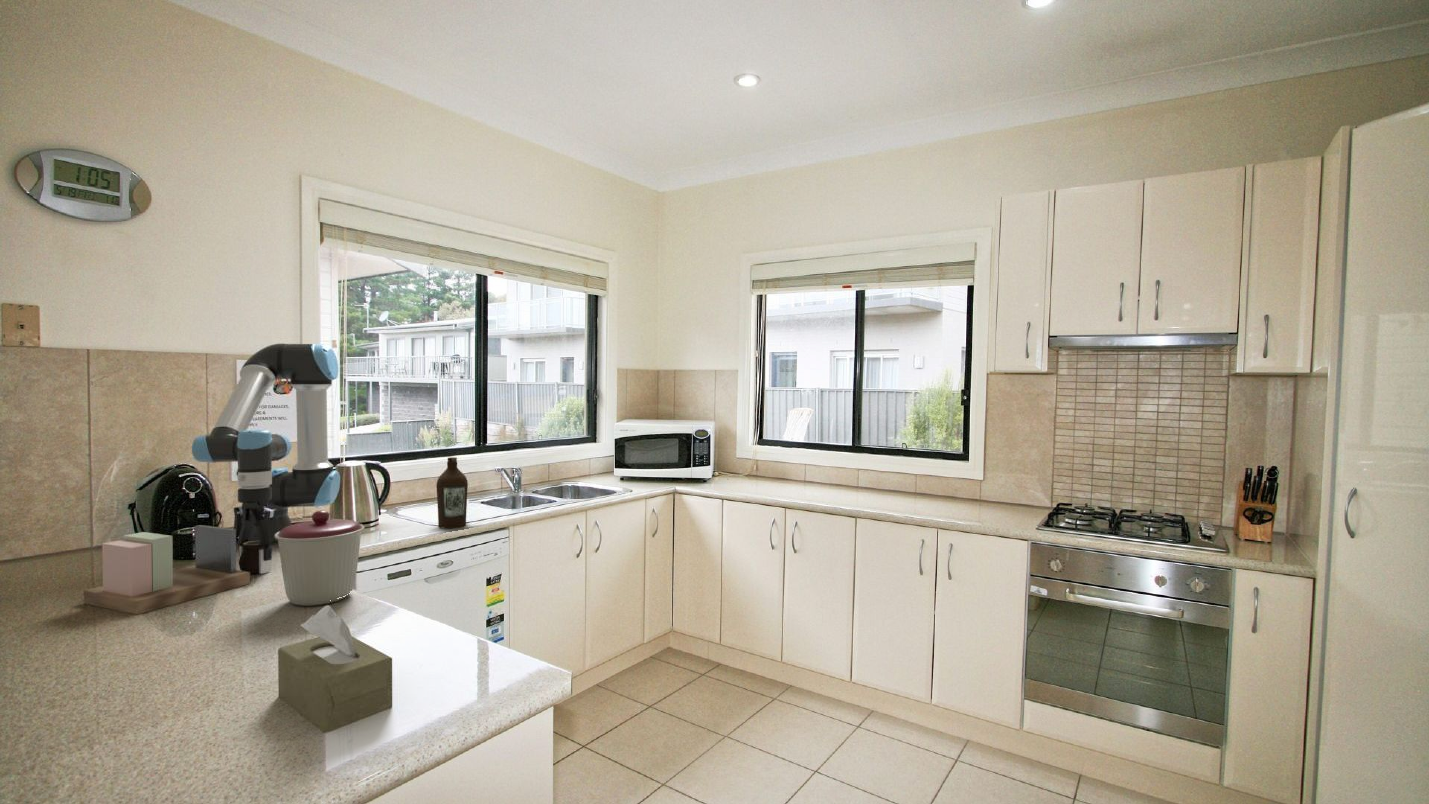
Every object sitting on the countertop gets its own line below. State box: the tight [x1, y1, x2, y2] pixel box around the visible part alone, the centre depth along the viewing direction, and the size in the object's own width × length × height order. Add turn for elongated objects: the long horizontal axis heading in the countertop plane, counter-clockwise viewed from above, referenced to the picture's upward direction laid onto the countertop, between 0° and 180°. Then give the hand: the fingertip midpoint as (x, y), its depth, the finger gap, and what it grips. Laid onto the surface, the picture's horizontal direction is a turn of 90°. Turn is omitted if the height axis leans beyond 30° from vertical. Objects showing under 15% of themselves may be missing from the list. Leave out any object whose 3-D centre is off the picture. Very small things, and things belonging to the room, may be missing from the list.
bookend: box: [194, 524, 237, 574], centre depth 164 cm, size 1×14×11 cm, turn 69°
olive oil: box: [435, 456, 469, 529], centre depth 233 cm, size 11×11×25 cm
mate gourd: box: [238, 541, 266, 575], centre depth 173 cm, size 7×8×10 cm
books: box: [101, 531, 174, 597], centre depth 148 cm, size 8×11×12 cm
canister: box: [274, 510, 365, 607], centre depth 151 cm, size 18×18×21 cm
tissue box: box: [277, 604, 393, 734], centre depth 101 cm, size 19×10×16 cm, turn 52°
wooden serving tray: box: [83, 564, 251, 615], centre depth 155 cm, size 24×20×3 cm
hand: (255, 570), depth 173 cm, fingers closed on mate gourd, 7 cm apart
